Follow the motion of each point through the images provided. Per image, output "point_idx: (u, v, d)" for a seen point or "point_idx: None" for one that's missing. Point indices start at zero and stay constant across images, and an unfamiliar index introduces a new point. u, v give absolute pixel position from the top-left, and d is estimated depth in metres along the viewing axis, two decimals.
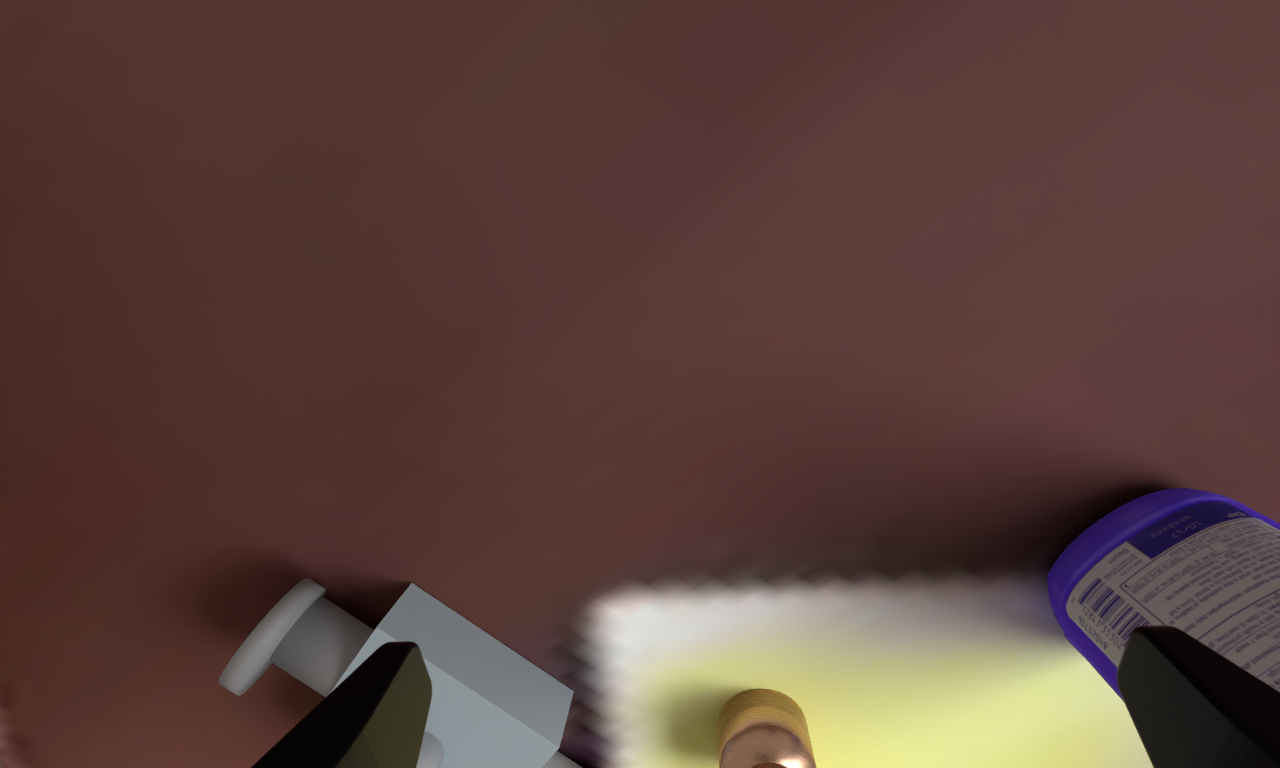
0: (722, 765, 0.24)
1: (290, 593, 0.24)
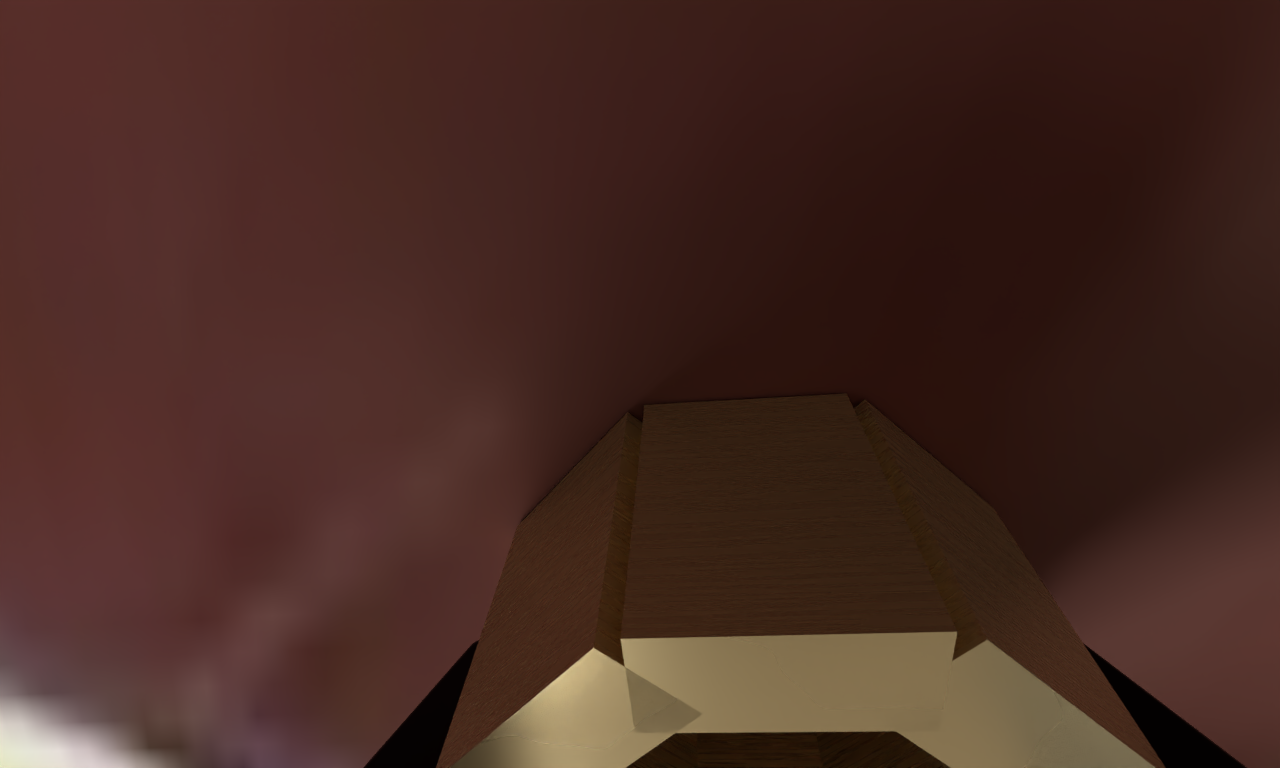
0: None
1: None
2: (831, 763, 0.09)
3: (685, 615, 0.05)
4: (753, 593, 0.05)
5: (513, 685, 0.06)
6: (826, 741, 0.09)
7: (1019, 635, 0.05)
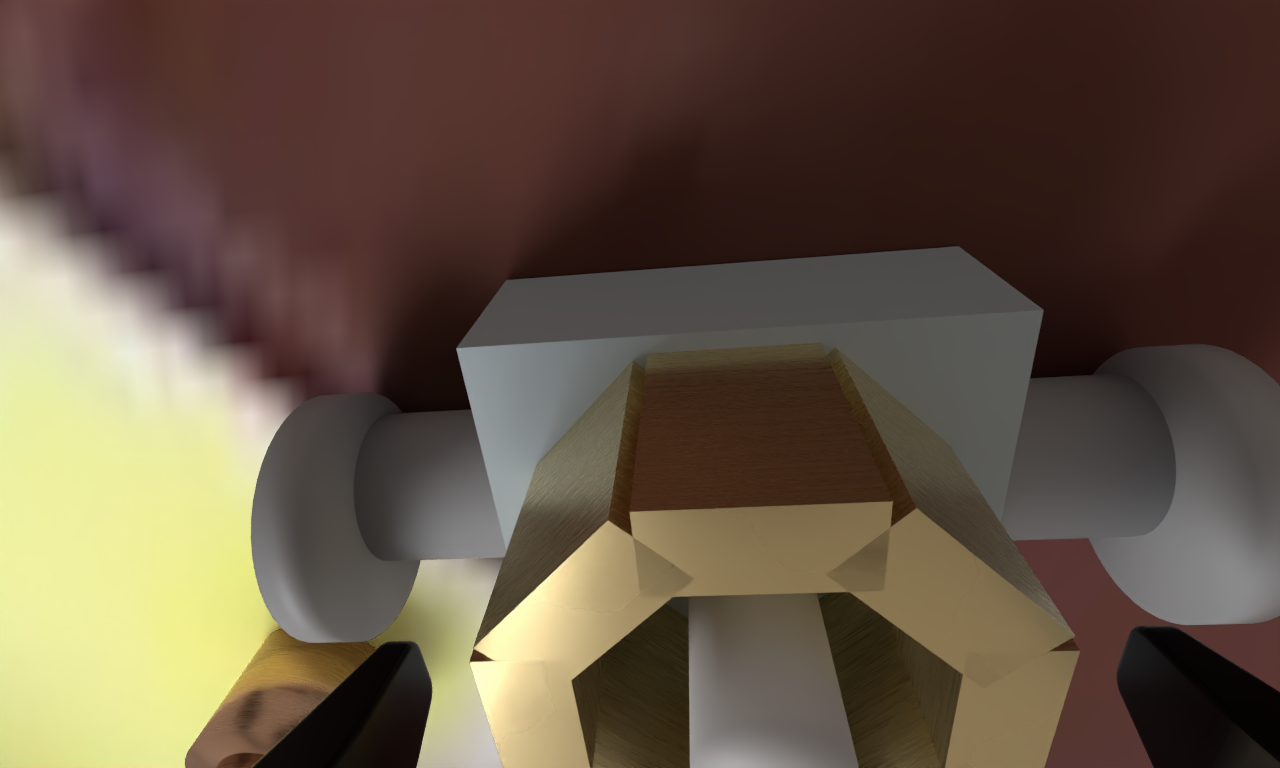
0: None
1: None
2: None
3: (681, 496, 0.06)
4: (735, 482, 0.06)
5: (541, 565, 0.07)
6: None
7: (949, 516, 0.06)
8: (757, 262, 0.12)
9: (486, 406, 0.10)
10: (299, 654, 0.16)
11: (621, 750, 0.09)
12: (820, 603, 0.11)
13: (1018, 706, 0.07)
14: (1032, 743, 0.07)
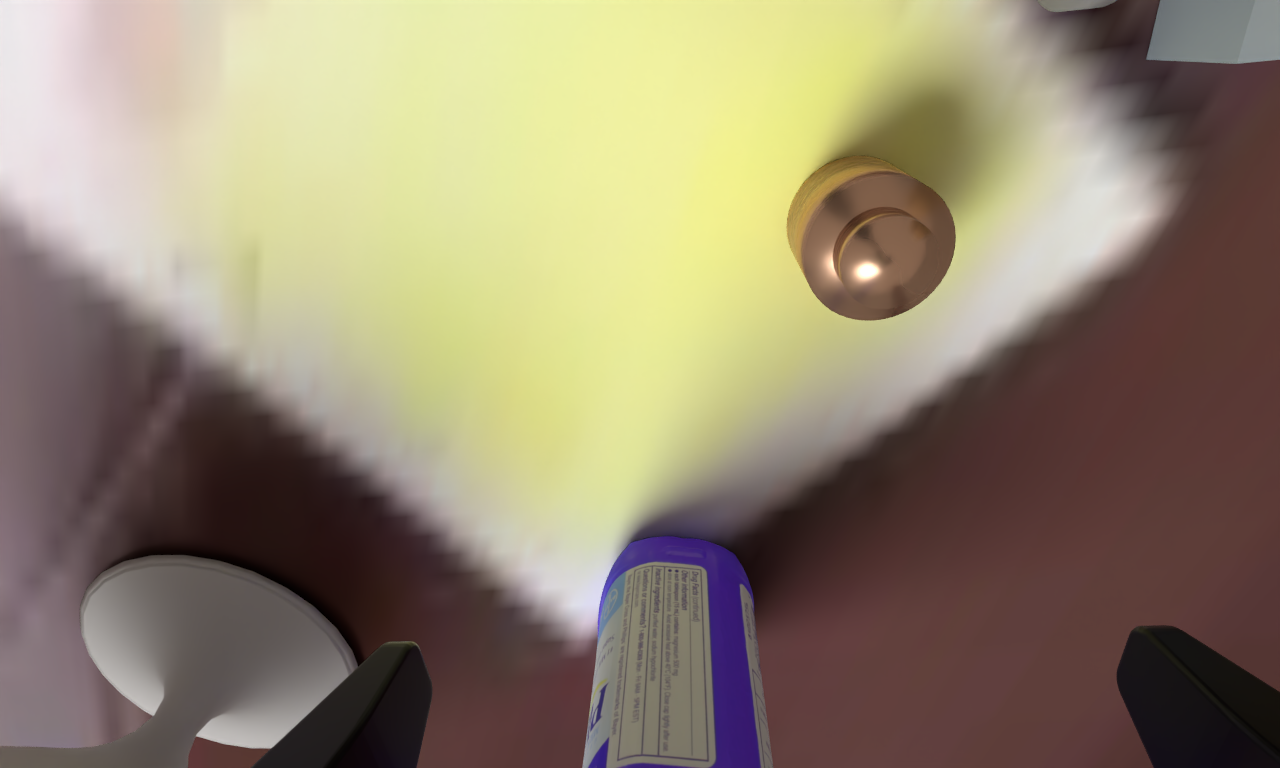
0: None
1: None
2: None
3: None
4: None
5: None
6: None
7: None
8: None
9: None
10: (875, 162, 0.17)
11: None
12: None
13: None
14: None
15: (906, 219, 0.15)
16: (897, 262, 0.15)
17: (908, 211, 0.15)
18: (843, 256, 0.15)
